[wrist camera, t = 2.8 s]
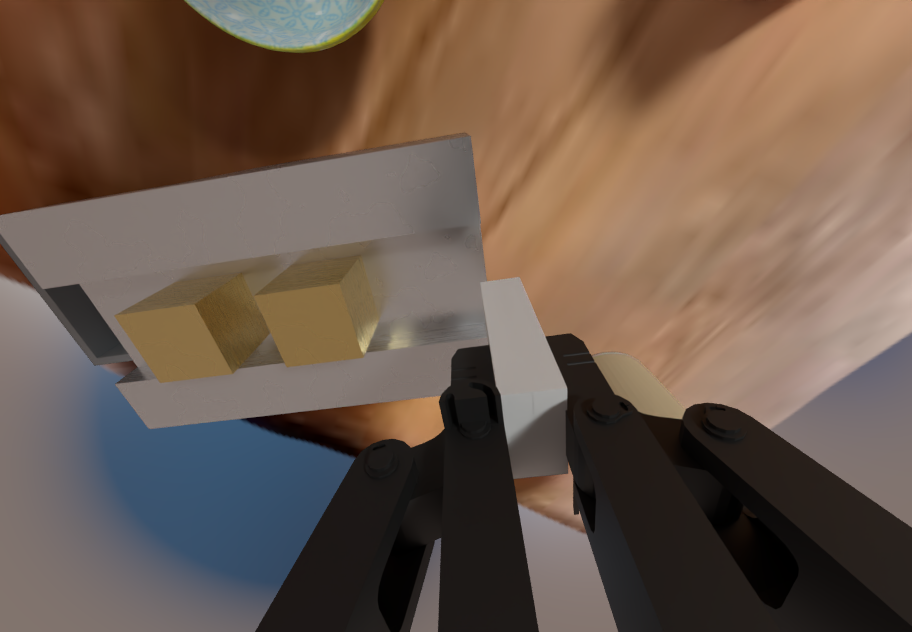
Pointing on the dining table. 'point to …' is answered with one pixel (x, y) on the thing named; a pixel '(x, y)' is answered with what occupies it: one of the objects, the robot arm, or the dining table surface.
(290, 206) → the rail block
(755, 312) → the dining table surface
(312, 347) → the tan cube
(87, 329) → the tray
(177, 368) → the chip
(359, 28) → the bowl
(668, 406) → the coffee cup
